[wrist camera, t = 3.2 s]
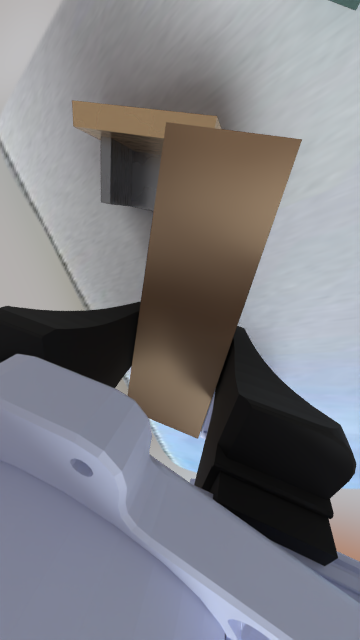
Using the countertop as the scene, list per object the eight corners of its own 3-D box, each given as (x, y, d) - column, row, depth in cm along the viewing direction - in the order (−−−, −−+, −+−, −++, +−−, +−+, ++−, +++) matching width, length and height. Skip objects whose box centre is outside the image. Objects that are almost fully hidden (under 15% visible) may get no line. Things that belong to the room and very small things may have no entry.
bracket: (211, 222, 18) (196, 223, 13) (119, 203, 20) (77, 198, 15) (228, 147, 16) (217, 116, 11) (121, 132, 17) (72, 100, 13)
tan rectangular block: (212, 379, 15) (197, 438, 10) (160, 361, 16) (125, 408, 11) (277, 185, 10) (301, 139, 6) (198, 171, 11) (166, 122, 7)
